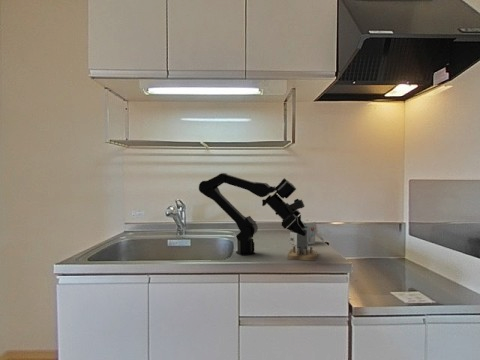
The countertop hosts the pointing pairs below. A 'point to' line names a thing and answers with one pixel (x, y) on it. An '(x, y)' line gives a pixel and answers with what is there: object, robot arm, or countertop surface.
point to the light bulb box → (311, 233)
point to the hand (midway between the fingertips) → (305, 233)
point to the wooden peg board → (297, 256)
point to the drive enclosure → (303, 241)
